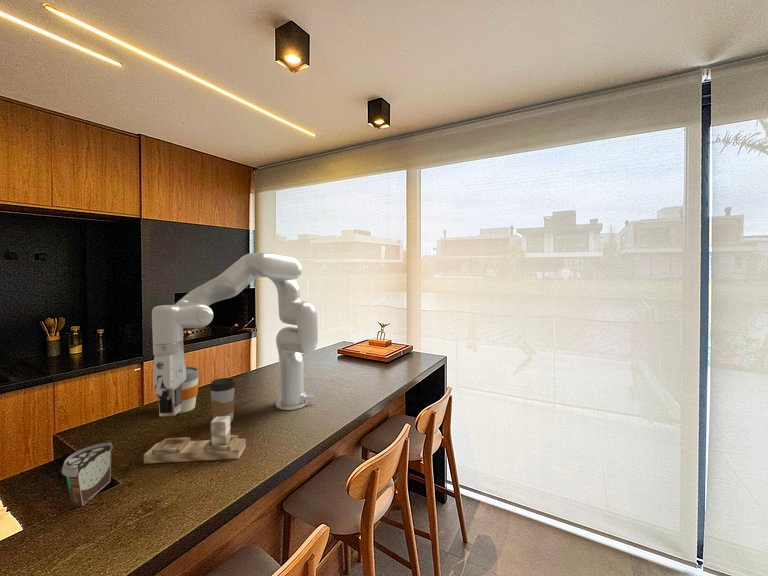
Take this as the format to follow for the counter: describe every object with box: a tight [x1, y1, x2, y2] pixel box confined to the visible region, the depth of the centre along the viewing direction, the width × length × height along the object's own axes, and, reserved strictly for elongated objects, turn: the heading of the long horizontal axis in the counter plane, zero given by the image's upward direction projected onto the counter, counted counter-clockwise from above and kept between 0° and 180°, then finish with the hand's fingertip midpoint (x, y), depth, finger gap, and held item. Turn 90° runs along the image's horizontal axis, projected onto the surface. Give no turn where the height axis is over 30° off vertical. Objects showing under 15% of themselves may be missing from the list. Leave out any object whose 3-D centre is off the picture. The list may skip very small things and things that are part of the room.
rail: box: [143, 416, 247, 465], centre depth 103 cm, size 26×7×10 cm, turn 96°
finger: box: [158, 385, 182, 417], centre depth 102 cm, size 5×4×8 cm
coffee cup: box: [209, 377, 236, 424], centre depth 125 cm, size 8×8×15 cm
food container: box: [61, 441, 114, 507], centre depth 85 cm, size 12×6×10 cm, turn 5°
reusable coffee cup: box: [177, 366, 200, 414], centre depth 137 cm, size 13×13×15 cm
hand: (170, 408), depth 102 cm, fingers closed on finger, 4 cm apart
